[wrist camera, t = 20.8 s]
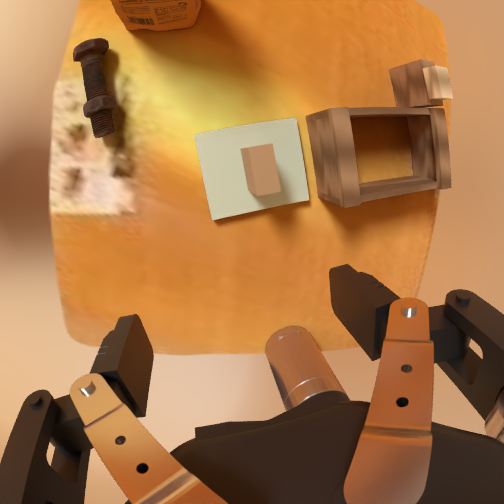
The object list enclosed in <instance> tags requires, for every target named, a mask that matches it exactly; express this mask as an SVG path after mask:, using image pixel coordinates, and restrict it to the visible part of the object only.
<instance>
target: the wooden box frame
mask: <svg viewBox="0 0 504 504" xmlns="http://www.w3.org/2000/svg"><path fill="white" fill-rule="evenodd" d="M431 66H435V63H434V62H433V61H427V60H422V59H421V60H418V61H414V62H411V63H408V64H405V65H401V66H398V67H395V68H392V69H389V71H390V76H391V80H392V85H393V90H394V95H395V101H396V106H397V107H369V108H348V107H345V108H330V109H327V110H323V111H320V112H317V113H314V114H311V115H307V116H306V121H307V126H308V132H309V138H310V144H311V150H312V156H313V163H314V169H315V176H316V183H317V190H318V197H319V198H321V199H324V200H326V201H329V202H331V203H334V204H336V205H339V206H341V207H343V208H348V207H353V206H358V205H361V202H366V201H371V200H376V199H381V198H387V197H392V196H397V195H403V194H408V193H413V192H419V191H425V190H430V189H436V188H438V189H447V188H451V168H450V155H449V143H448V134H447V126H446V118H445V111H444V109H441V108H423V107H433V106H443V102H442V100H433V99H429V98H428V92H427V87H426V82H425V78H424V73H423V68H427V67H431ZM371 117H407V121H408V128H409V136H410V144H411V153H412V164H413V176H407V177H400V178H393V179H387V180H380V181H374V182H368V183H362V184H359V179H358V171H357V162H356V155H355V147H354V140H353V134H352V128H351V121H350V119H351V118H371Z"/></svg>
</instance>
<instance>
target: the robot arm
mask: <svg viewBox="0 0 504 504" xmlns="http://www.w3.org/2000/svg"><path fill="white" fill-rule="evenodd" d="M329 278H330V292H331V304H332V308H333V311H334V313H335V315H336V316H337V317H338V319H339V320H340V321H341V322H342V324H343V325H344V326H345V327H346V329H347V330H348V331H349V332H350V334H351V335H352V336H353V337H354V339H355V340H356V341H357V342H358V344H359V345H360V346H361V347H362V348H363V350H364V351H365V352H366V354H367V355H368V356H369V358H370V359H371V360H372V361H374V360H377V359H379V358H380V363H379V369H378V373H377V378H376V382H375V387H374V391H373V395H372V399H371V403H370V402H363V401H350V399H349V398H348V396H347V394H346V393H345V391H344V389H343V388H342V386H341V384H340V383H339V381H338V380H337V378H336V376H335V375H334V373H333V371H332V370H331V368H330V366H329V365H328V363H327V361H326V360H325V358H324V356H323V355H322V353H321V351H320V350H319V348H318V346H317V344H316V343H315V341H314V339H313V338H312V336H311V335H310V333H309V332H308V331H307V330H306V329H304V328H301V327H286V328H284V329H281V330H279V331H278V332H276V333H275V334H274V335H272V336H271V338H270V339H269V340H268V342H267V344H266V350H265V352H266V356H267V359H268V361H269V364H270V367H271V370H272V373H273V376H274V379H275V381H276V384H277V387H278V390H279V392H280V395H281V398H282V401H283V404H284V406H285V409H286V412H284V413H282V414H280V415H278V416H276V417H274V418H272V419H269V420H266V421H246V422H245V421H244V422H225V423H220V424H214V425H209V426H203V427H196V428H195V437H196V438H194V439H191V440H189V441H187V442H185V443H183V444H182V445H180V446H178V447H177V448H175V449H174V450H173V451H171V452H170V453H169V452H167V450H166V449H165V448H164V447H163V446H162V445H161V444H160V443H159V442H158V441H157V440H156V439H155V438H154V437H153V436H152V435H151V434H150V433H149V431H148V430H147V429H146V428H145V427H144V426H143V425H142V424H141V423H140V421H139V420H138V419H137V418H138V417H145V416H146V408H147V400H148V392H149V385H150V379H151V372H152V366H153V357H154V355H153V349H152V346H151V343H150V341H149V339H148V336H147V334H146V332H145V329H144V327H143V325H142V322H141V320H140V318H139V316H138V315H137V314H134V315H129V316H124V317H120V318H119V319H118V322H117V324H116V327H115V329H114V330H113V331H110V332H109V334H108V335H107V336H106V337H105V338H104V339H103V342H102V344H101V346H100V347H101V348H100V349H99V351H98V355H97V356H96V359H95V361H94V364H93V366H92V369H91V372H90V374H87V375H84V376H82V377H80V378H79V379H77V380H76V381H75V382H74V383H73V384H72V386H71V388H70V394H69V395H66V396H63V397H60V398H57V399H54V398H53V396H52V395H51V394H50V393H49V391H47V390H38V391H35V392H33V393H32V394H30V395H29V396H28V397H27V398H26V399H25V401H24V403H23V405H22V407H21V410H20V412H19V414H18V417H17V419H16V422H15V424H14V427H13V430H12V432H11V434H10V437H9V440H8V442H7V445H6V448H5V451H4V454H3V457H2V460H1V463H0V504H84V498H85V488H86V479H87V471H88V463H89V456H90V450H91V449H92V448H95V450H96V452H97V453H98V455H99V457H100V458H101V460H102V462H103V463H104V465H105V466H106V468H107V469H108V471H109V472H110V474H111V475H112V477H113V478H114V480H115V481H116V483H117V484H118V486H119V487H120V488H121V490H122V491H123V492H124V494H125V495H126V497H127V498H128V501H127V502H126V503H125V504H504V315H503V314H502V313H501V312H499V311H498V310H497V309H495V308H494V307H493V306H491V305H490V304H489V303H487V302H486V301H484V300H483V299H482V298H480V297H479V296H477V295H476V294H474V293H473V292H471V291H468V290H462V289H458V290H453V291H451V292H449V293H448V294H447V295H446V300H445V305H440V306H434V307H428V306H427V305H426V303H424V302H423V301H421V300H419V299H416V298H400V297H399V296H397V295H396V294H395V293H394V292H392V291H391V290H390V289H388V288H387V287H386V286H384V285H383V284H382V283H381V282H379V281H378V280H377V279H376V278H374V277H373V276H372V275H369V274H366V273H363V272H359V273H358V272H357V271H356V270H355V269H353V268H352V267H351V266H350V265H348V264H345V265H341V266H338V267H334V268H331V269H330V271H329ZM471 339H472V340H474V341H475V342H476V343H477V344H478V345H479V346H480V347H481V349H482V352H483V359H481V358H480V357H479V356H478V355H477V354H476V353H475V352H474V351H473V350H472V349H471V348H470V347H469V343H470V340H471ZM434 363H437V364H438V365H439V367H440V368H441V369H442V370H443V371H444V372H445V373H446V375H447V376H448V377H449V378H450V379H451V380H452V382H453V383H454V384H455V385H456V386H457V387H458V389H459V390H460V391H461V392H462V393H463V395H464V396H465V397H466V398H467V399H468V401H469V402H470V403H471V404H472V405H473V407H474V408H475V409H476V410H477V411H478V413H479V414H480V415H481V416H482V418H483V419H484V420H485V431H486V434H487V435H482V434H478V433H473V432H469V431H465V430H461V429H457V428H453V427H449V426H445V425H442V424H438V423H435V422H431V421H432V408H433V387H434ZM49 442H50V443H51V444H52V445H53V446H54V447H55V450H54V455H53V459H52V463H51V467H50V465H49V464H48V461H47V458H46V453H47V449H48V445H49Z"/></svg>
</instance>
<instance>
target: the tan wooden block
mask: <svg viewBox="0 0 504 504" xmlns="http://www.w3.org/2000/svg"><path fill="white" fill-rule="evenodd" d="M423 73H424V78H425V82H426V87H427V92H428V98H429V99H433V100H447V99H453V95H452V89H451V84H450V79H449V75H448V70H447V68H445V67H440V66H431V67H427V68H423Z"/></svg>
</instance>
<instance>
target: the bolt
mask: <svg viewBox="0 0 504 504" xmlns="http://www.w3.org/2000/svg"><path fill="white" fill-rule="evenodd" d="M108 48H109V44H108V41H107V40H105V39H102V38H96V39H90V40H86V41H84V42H82V43H81V44H79V45H78V46H76V47H75V49H74V52H73V59H74V61H81V67H82V70H83V71H82V72H83V80H84V86H85V92H86V97H87V102H86V103H85V104H84V107H83V111H84V116H85V117H87V118H90V119H91V123H92V124H91V125H92V127H93V128H92V129H93V134H94V136H95V138H97V137H98V138H100V137H103V136H105V135H108V134H111V133H113V131H114V130H115V129H113V128H114V127H113V126H114V125H112V124H113V123H112V122H113V121H112V116H111V112H110V111H112V110H113V109H114V107H115V100H114V97H112V96H110V95H107V94H108V93H107V89H106V88H107V87H106V83H105V82H106V81H105V75H104V68H103V62H102V61H103V57H102V55H105V53H106V51H107V49H108Z"/></svg>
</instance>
